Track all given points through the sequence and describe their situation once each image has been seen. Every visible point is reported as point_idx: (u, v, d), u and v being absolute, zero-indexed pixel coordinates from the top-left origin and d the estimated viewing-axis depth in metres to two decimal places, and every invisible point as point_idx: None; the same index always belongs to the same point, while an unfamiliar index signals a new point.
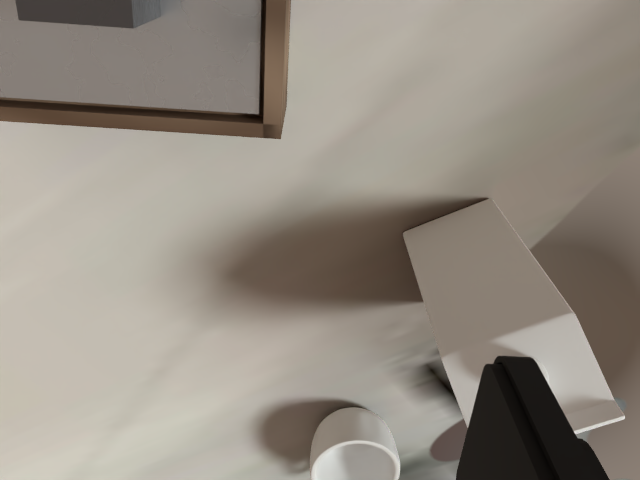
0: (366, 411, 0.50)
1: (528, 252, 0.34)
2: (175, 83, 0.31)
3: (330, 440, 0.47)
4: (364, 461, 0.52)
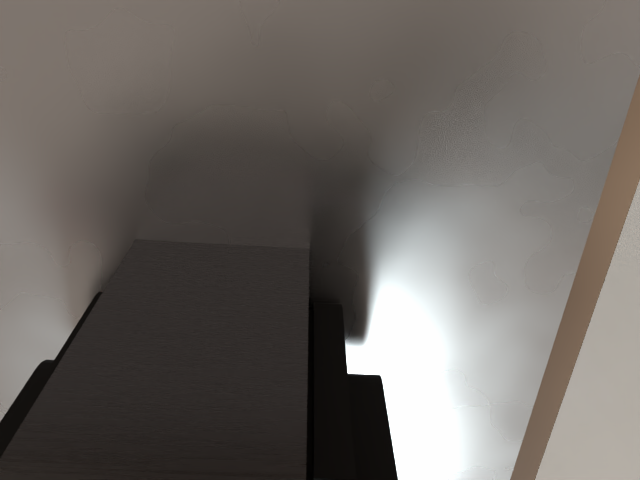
0: None
1: None
2: None
3: None
4: None
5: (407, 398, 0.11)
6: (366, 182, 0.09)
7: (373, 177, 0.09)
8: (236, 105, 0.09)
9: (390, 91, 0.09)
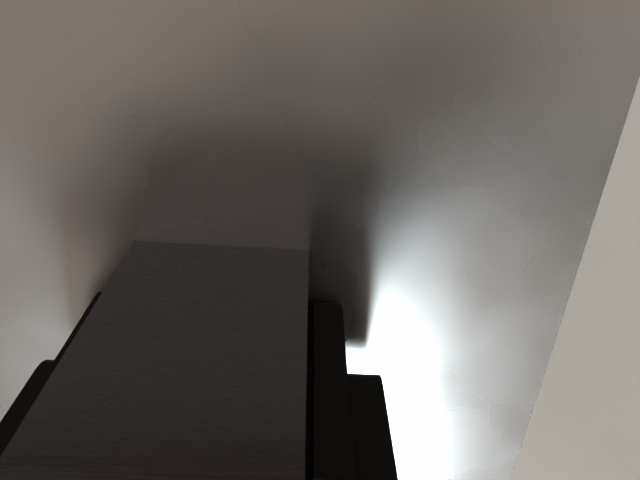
0: None
1: None
2: None
3: None
4: None
5: (407, 400, 0.11)
6: (366, 183, 0.09)
7: (372, 179, 0.09)
8: (235, 106, 0.09)
9: (390, 92, 0.09)
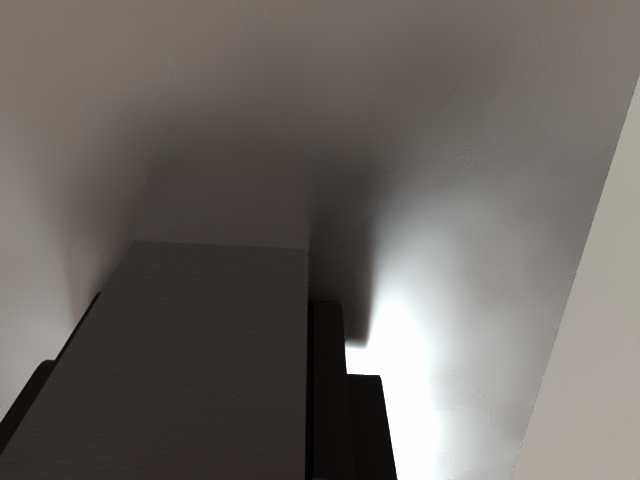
0: None
1: None
2: None
3: None
4: None
5: (407, 400, 0.11)
6: (365, 183, 0.09)
7: (372, 179, 0.09)
8: (235, 106, 0.09)
9: (389, 91, 0.09)
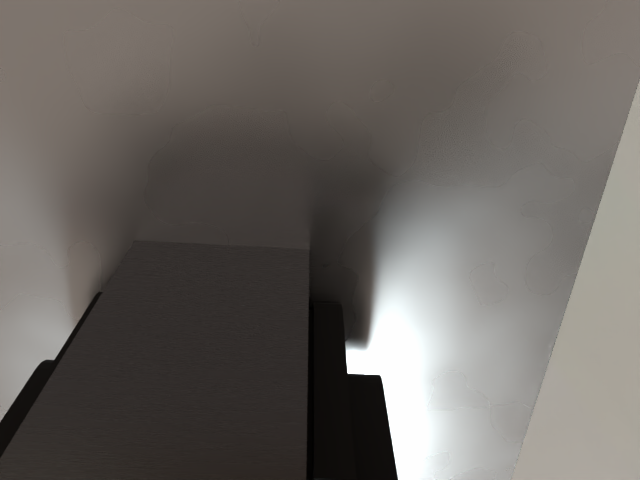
0: None
1: None
2: None
3: None
4: None
5: (408, 400, 0.11)
6: (367, 183, 0.09)
7: (373, 178, 0.09)
8: (236, 105, 0.09)
9: (391, 91, 0.09)
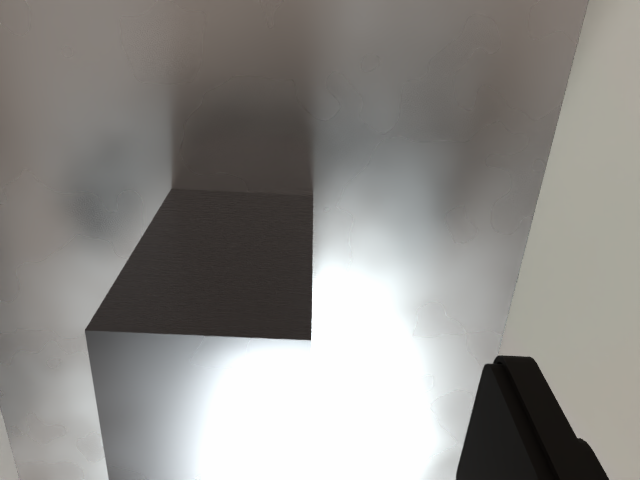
0: None
1: None
2: (50, 385, 0.14)
3: None
4: None
5: (396, 328, 0.14)
6: (359, 139, 0.11)
7: (364, 135, 0.11)
8: (254, 75, 0.11)
9: (377, 63, 0.11)
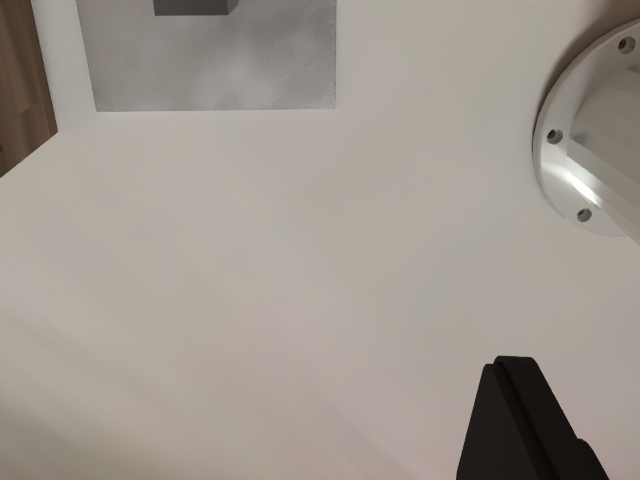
0: None
1: None
2: (108, 18, 0.28)
3: None
4: None
5: None
6: None
7: None
8: None
9: None
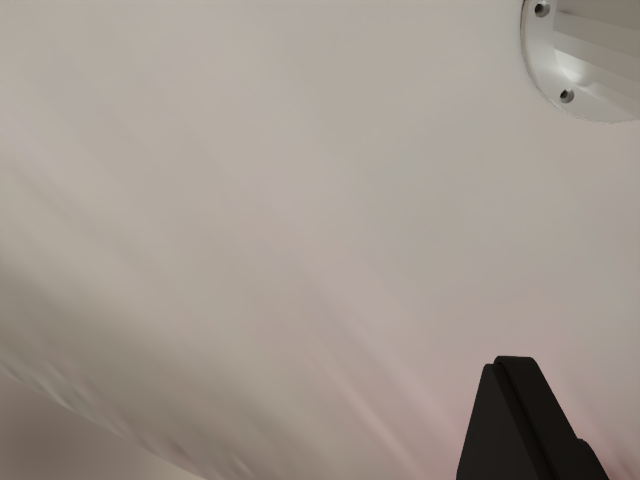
0: None
1: None
2: None
3: None
4: None
5: None
6: None
7: None
8: None
9: None
